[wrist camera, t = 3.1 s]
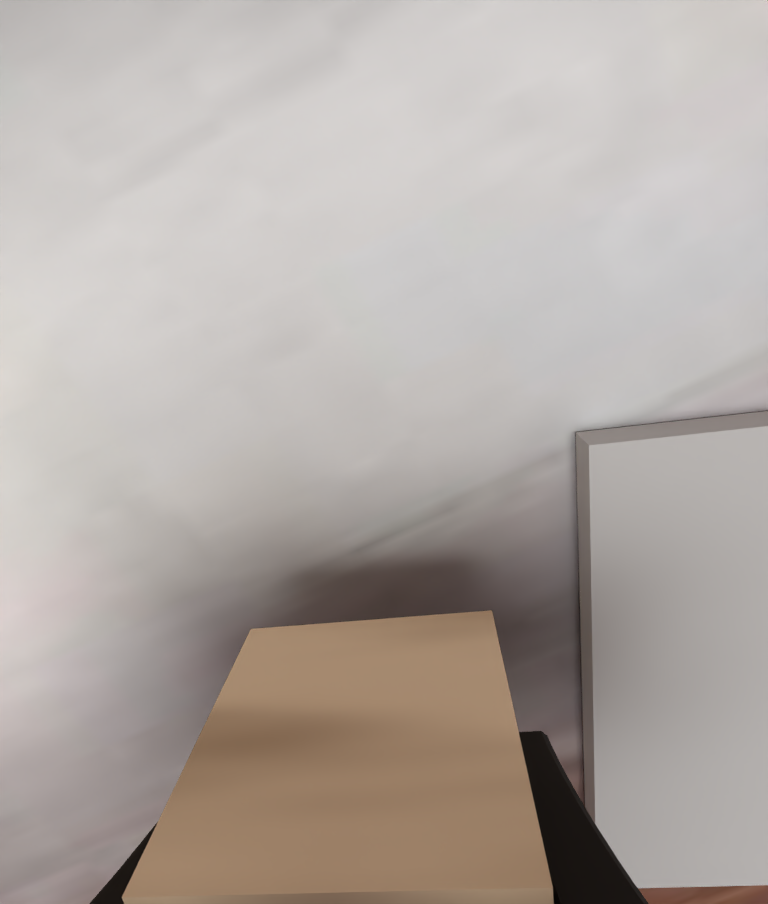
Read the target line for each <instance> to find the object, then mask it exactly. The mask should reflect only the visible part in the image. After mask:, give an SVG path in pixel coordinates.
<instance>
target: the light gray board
mask: <svg viewBox="0 0 768 904" xmlns="http://www.w3.org/2000/svg"><path fill="white" fill-rule="evenodd" d="M576 466H577V507H578V547H579V587H580V628H581V668H582V708H583V749H584V789H585V808H586V810H587V811H588V813H589V815H590V816H591V818H592V820H593V821H594V823H595V824H596V826H597V828H598V829H599V831H600V832H601V834H602V835H603V837H604V838H605V840H606V842H607V843H608V845H609V846H610V848H611V849H612V851H613V852H614V854H615V856H616V857H617V859H618V860H619V862H620V863H621V865H622V866H623V868H624V869H625V871H626V872H627V874H628V875H629V877H630V878H631V879H632V881H633V882H634V884H635V885H636V887H637V888H667V887H709V886H751V885H768V411H762V412H753V413H744V414H735V415H726V416H717V417H708V418H699V419H690V420H681V421H672V422H663V423H654V424H645V425H637V426H628V427H619V428H610V429H601V430H592V431H583V432H576Z"/></svg>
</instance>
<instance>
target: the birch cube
mask: <svg viewBox="0 0 768 904" xmlns="http://www.w3.org/2000/svg"><path fill="white" fill-rule="evenodd" d="M122 900H123V902H124V904H554V899H553V886H552V881H551V877H550V872H549V868H548V863H547V859H546V854H545V850H544V845H543V840H542V836H541V831H540V827H539V822H538V818H537V813H536V809H535V804H534V800H533V795H532V790H531V786H530V781H529V777H528V772H527V768H526V763H525V759H524V754H523V750H522V745H521V740H520V736H519V731H518V727H517V722H516V718H515V713H514V709H513V704H512V700H511V695H510V690H509V686H508V681H507V677H506V672H505V668H504V663H503V659H502V654H501V650H500V645H499V640H498V636H497V631H496V627H495V622H494V618H493V613H492V610H490V611H477V612H464V613H451V614H438V615H425V616H412V617H399V618H386V619H373V620H360V621H348V622H335V623H322V624H309V625H296V626H283V627H270V628H257V629H251V630H250V632H249V634H248V636H247V638H246V640H245V642H244V644H243V646H242V648H241V650H240V652H239V655H238V657H237V659H236V661H235V663H234V665H233V667H232V669H231V671H230V673H229V675H228V677H227V679H226V682H225V684H224V686H223V688H222V690H221V692H220V694H219V696H218V698H217V700H216V702H215V704H214V706H213V709H212V711H211V713H210V715H209V717H208V719H207V721H206V723H205V725H204V727H203V729H202V731H201V734H200V736H199V738H198V740H197V742H196V744H195V746H194V748H193V750H192V752H191V754H190V756H189V758H188V761H187V763H186V765H185V767H184V769H183V771H182V773H181V775H180V777H179V779H178V781H177V783H176V786H175V788H174V790H173V792H172V794H171V796H170V798H169V800H168V802H167V804H166V806H165V808H164V810H163V813H162V815H161V817H160V819H159V821H158V823H157V825H156V827H155V829H154V831H153V833H152V835H151V838H150V840H149V842H148V844H147V846H146V848H145V850H144V852H143V854H142V856H141V858H140V860H139V862H138V865H137V867H136V869H135V871H134V873H133V875H132V877H131V879H130V881H129V883H128V885H127V887H126V889H125V892H124V894H123V896H122Z"/></svg>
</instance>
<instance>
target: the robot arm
mask: <svg viewBox="0 0 768 904" xmlns="http://www.w3.org/2000/svg"><path fill="white" fill-rule="evenodd" d="M519 736H520V740H521V745H522V750H523V754H524V759H525V763H526V768H527V772H528V777H529V781H530V786H531V790H532V795H533V800H534V804H535V809H536V813H537V818H538V822H539V827H540V831H541V836H542V840H543V845H544V850H545V854H546V859H547V863H548V868H549V872H550V877H551V881H552V886H553V899H554V904H648V902H647V901H646V899H645V898H644V897H643V895H642V894H641V892H640V891H639V890H638V888H637V887H636V885H635V884H634V882H633V881H632V879H631V878H630V877H629V875H628V874H627V872H626V871H625V869H624V868H623V866H622V865H621V863H620V862H619V860H618V859H617V857H616V856H615V854H614V852H613V851H612V849H611V848H610V846H609V845H608V843H607V842H606V840H605V838H604V837H603V835H602V834H601V832H600V831H599V829H598V828H597V826H596V824H595V823H594V821H593V820H592V818H591V816H590V815H589V813H588V811H587V810H586V808H585V807H584V805H583V803H582V801H581V800H580V798H579V796H578V795H577V793H576V791H575V789H574V788H573V786H572V784H571V782H570V781H569V779H568V777H567V775H566V773H565V771H564V770H563V768H562V766H561V764H560V762H559V760H558V758H557V756H556V754H555V752H554V750H553V748H552V746H551V743H550V741H549V739H548V736H547V735H545V734H544V733H543V732H542V731H533V732H519ZM157 823H158V822H157ZM157 823H156V825H157ZM156 825H155V826H154V827H153V828H152V830H151V831H150V832H149V833H148V835H147V836H146V837H145V838H144V839H143V841H142V842H141V843H140V844H139V846H138V847H137V848H136V849H135V851H134V852H133V853H132V854H131V856H130V857H129V858H128V859H127V860H126V862H125V863H124V864H123V865H122V867H121V868H120V869H119V870H118V871H117V873H116V874H115V875H114V876H113V877H112V878H111V880H110V881H109V882H108V883H107V884H106V885H105V886H104V888H103V889H102V890H101V891H100V892H99V893H98V895H97V896H96V897H95V898H94V899H93V900H92V901H91V903H90V904H124V902H123V900H122V896H123V894H124V892H125V889H126V887H127V885H128V883H129V881H130V879H131V877H132V875H133V873H134V871H135V869H136V867H137V865H138V862H139V860H140V858H141V856H142V854H143V852H144V850H145V848H146V846H147V844H148V842H149V840H150V838H151V835H152V833H153V831H154V829H155V827H156Z"/></svg>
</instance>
